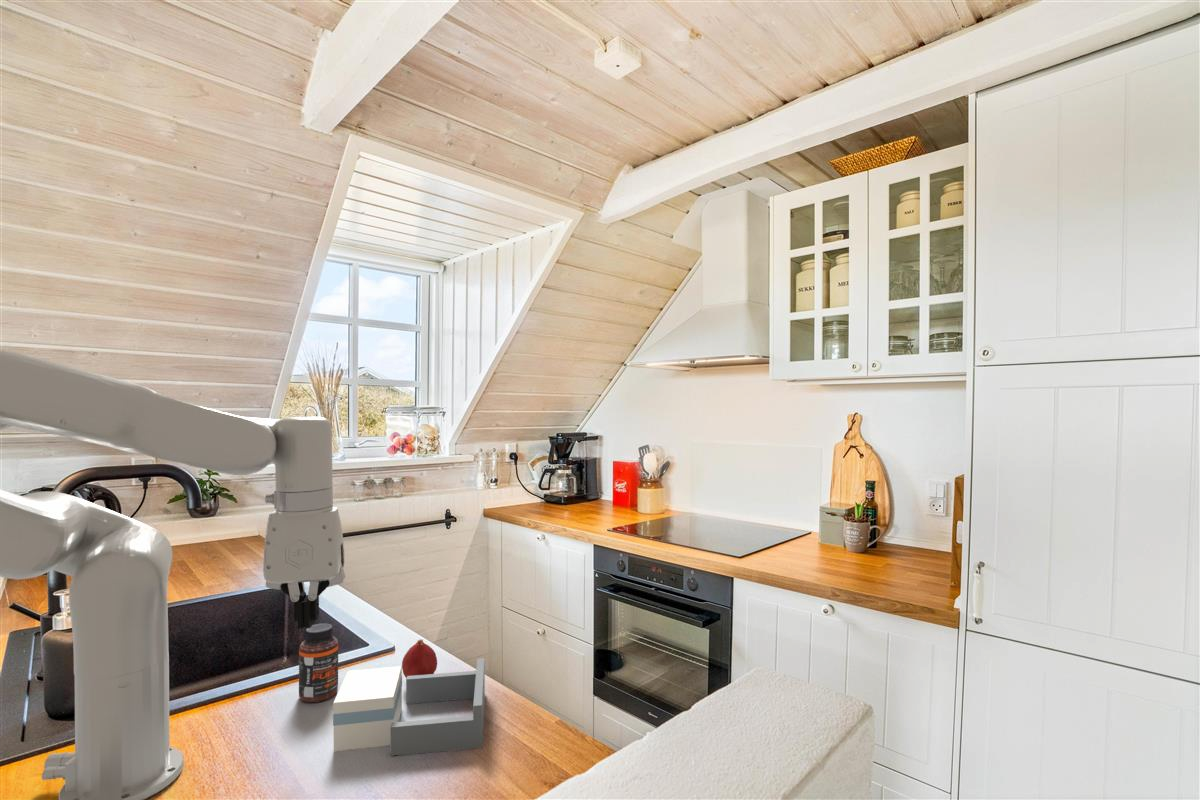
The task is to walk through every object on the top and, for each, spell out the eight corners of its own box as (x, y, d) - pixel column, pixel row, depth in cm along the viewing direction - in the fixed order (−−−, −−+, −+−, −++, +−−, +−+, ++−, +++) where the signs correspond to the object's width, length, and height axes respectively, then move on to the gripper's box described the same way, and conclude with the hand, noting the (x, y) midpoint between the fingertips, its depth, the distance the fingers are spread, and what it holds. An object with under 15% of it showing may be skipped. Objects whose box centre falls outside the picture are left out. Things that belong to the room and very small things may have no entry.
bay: (390, 756, 83) (390, 712, 83) (407, 700, 98) (407, 663, 98) (482, 747, 85) (481, 705, 85) (484, 694, 100) (484, 658, 100)
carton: (333, 752, 84) (332, 703, 84) (348, 715, 94) (347, 670, 94) (393, 745, 86) (393, 697, 86) (402, 709, 96) (402, 665, 96)
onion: (396, 684, 104) (396, 638, 104) (427, 674, 108) (427, 629, 108) (411, 697, 99) (411, 649, 99) (443, 685, 103) (442, 639, 103)
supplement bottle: (312, 708, 96) (312, 637, 96) (291, 698, 99) (290, 629, 99) (346, 692, 101) (345, 625, 101) (324, 683, 104) (324, 618, 104)
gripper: (238, 507, 83) (241, 639, 84) (352, 503, 86) (354, 631, 86) (259, 498, 91) (262, 619, 91) (364, 494, 93) (365, 612, 94)
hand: (306, 625), depth 89 cm, fingers closed
